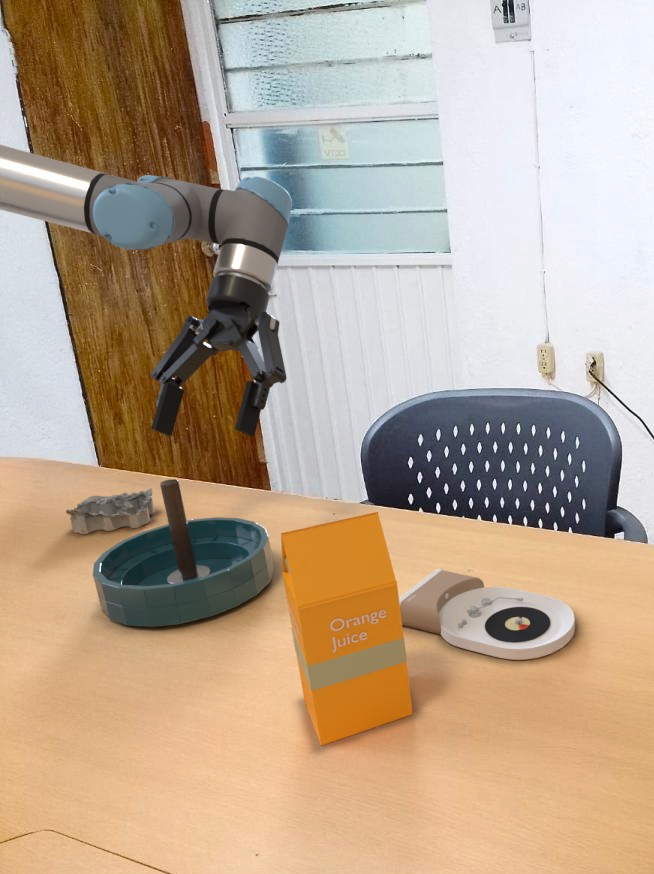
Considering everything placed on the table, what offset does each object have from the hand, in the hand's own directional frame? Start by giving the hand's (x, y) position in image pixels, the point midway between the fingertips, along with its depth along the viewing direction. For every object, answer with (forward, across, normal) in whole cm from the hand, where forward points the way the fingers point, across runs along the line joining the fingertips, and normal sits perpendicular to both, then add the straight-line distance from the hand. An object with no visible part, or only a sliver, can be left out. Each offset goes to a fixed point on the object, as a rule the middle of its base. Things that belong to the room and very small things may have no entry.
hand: (202, 432), depth 107 cm
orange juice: (+31, -35, +6) cm, 47 cm away
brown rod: (+19, -1, -4) cm, 19 cm away
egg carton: (+10, +26, -14) cm, 31 cm away
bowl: (+19, 0, -4) cm, 20 cm away
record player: (+20, -41, -9) cm, 46 cm away
